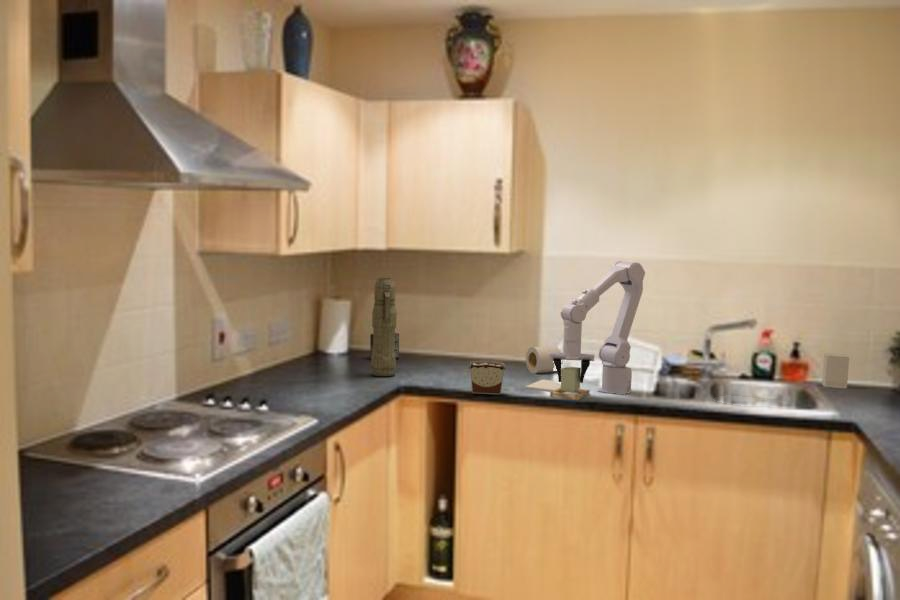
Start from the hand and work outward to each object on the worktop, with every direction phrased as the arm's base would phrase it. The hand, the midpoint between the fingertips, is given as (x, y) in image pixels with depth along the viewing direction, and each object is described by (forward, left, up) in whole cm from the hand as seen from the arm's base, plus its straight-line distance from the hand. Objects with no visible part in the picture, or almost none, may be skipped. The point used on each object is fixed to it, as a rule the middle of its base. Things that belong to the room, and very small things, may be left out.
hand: (570, 381), depth 257 cm
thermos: (+70, +5, -5) cm, 70 cm away
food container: (+25, +11, -5) cm, 28 cm away
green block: (0, 0, -2) cm, 2 cm away
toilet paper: (+23, -34, -5) cm, 41 cm away
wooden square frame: (0, 0, -4) cm, 4 cm away
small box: (+88, -23, -5) cm, 91 cm away
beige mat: (+11, -9, -4) cm, 15 cm away
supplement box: (-75, -67, -5) cm, 101 cm away
